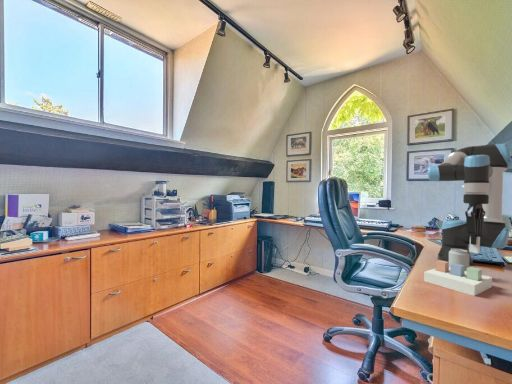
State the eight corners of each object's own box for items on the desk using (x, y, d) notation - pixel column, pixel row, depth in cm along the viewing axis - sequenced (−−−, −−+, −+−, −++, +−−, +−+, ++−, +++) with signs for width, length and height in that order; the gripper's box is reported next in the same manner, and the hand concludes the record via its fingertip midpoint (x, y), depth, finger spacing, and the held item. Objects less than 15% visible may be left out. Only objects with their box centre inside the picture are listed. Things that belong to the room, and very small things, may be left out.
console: (443, 274, 114) (443, 265, 114) (491, 286, 99) (492, 277, 99) (424, 280, 105) (424, 271, 105) (474, 296, 90) (474, 285, 90)
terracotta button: (439, 270, 109) (439, 259, 109) (448, 273, 106) (448, 262, 106) (435, 272, 107) (435, 261, 107) (444, 274, 104) (445, 263, 104)
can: (473, 278, 108) (473, 252, 108) (454, 277, 110) (454, 251, 110) (462, 273, 116) (463, 248, 116) (444, 271, 117) (445, 247, 117)
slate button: (453, 274, 104) (454, 263, 104) (464, 277, 101) (464, 265, 101) (450, 276, 103) (450, 264, 103) (460, 278, 99) (460, 266, 99)
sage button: (470, 278, 100) (470, 266, 100) (481, 281, 97) (481, 269, 96) (466, 280, 98) (466, 268, 98) (477, 283, 95) (478, 270, 95)
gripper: (470, 193, 103) (469, 248, 103) (457, 193, 97) (455, 252, 97) (494, 194, 97) (492, 252, 97) (481, 193, 90) (480, 256, 90)
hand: (474, 252), depth 97 cm, fingers closed
